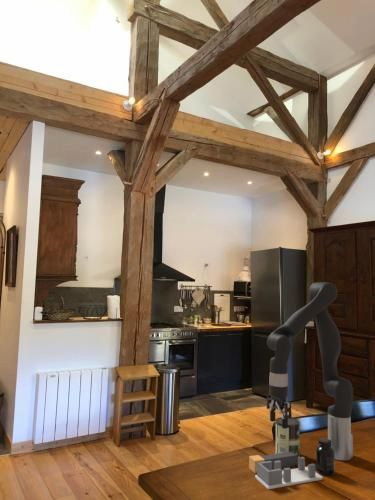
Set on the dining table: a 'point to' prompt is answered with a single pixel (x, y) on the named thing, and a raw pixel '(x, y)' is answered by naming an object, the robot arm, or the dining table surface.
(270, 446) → the dining table surface
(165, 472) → the dining table surface
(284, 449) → the coffee can
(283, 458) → the grey orange bar
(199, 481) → the dining table surface
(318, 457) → the supplement bottle
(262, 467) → the white grey holder tray
